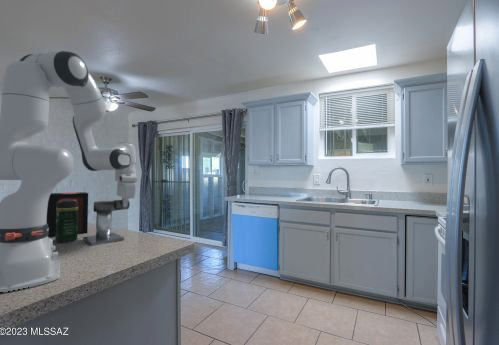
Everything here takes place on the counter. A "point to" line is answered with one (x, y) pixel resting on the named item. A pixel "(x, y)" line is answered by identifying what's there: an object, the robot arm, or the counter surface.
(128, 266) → the counter surface
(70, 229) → the coffee jar
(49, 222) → the cleaning product box
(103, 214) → the silver pedestal stand
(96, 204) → the elbow
